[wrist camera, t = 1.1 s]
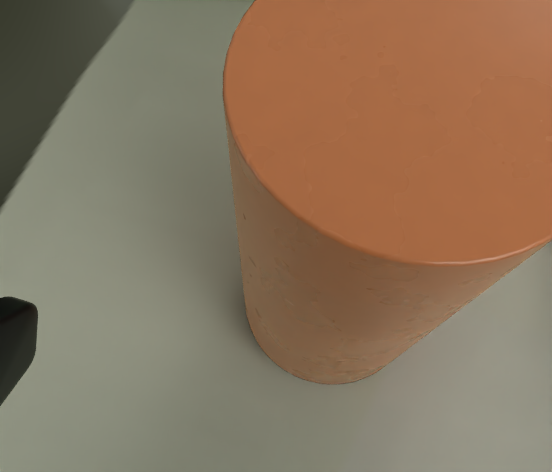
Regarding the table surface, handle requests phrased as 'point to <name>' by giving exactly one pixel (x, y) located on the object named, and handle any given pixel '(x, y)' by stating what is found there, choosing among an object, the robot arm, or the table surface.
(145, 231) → the table surface
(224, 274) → the table surface
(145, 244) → the table surface
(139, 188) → the table surface
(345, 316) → the copper pot
